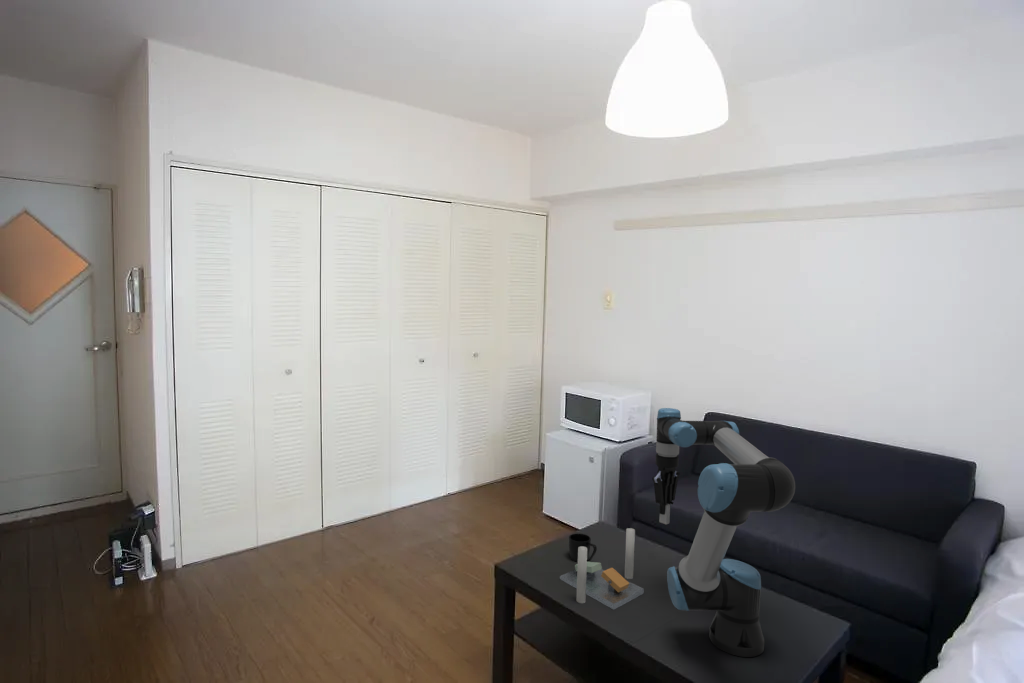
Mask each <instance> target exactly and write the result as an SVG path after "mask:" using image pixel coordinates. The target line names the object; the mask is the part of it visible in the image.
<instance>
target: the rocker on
mask: <svg viewBox="0 0 1024 683" xmlns="http://www.w3.org/2000/svg"><path fill="white" fill-rule="evenodd" d="M577 567H578V563H576V564H574V568H575V569H574V570H576V571H577ZM600 569H603V566H602V563H601V562H596V561H590V562H587V572H590V573H593V572H596V571H598V570H600Z"/></svg>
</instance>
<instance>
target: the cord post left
mask: <svg viewBox="0 0 1024 683" xmlns="http://www.w3.org/2000/svg"><path fill="white" fill-rule="evenodd" d="M587 560H588V559H587V547H584V546H580V547H578V562H577V564H578V567H577V589H576V597H575V598H576V602H577V603H579V604H585V603H586V600H587V599H586V597H587V594H586V573H587Z"/></svg>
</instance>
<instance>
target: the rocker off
mask: <svg viewBox="0 0 1024 683" xmlns="http://www.w3.org/2000/svg"><path fill="white" fill-rule="evenodd" d="M604 570H605V571H603V572H602V575H601V577H603V578H604V579H605V580H606V581H607V582H608V583H609V584H610V585H611V586H612V587H613V588H614V589H615V590H616V591H617V592H618V593H619V592H621V591H623V590H625V589H627V588H628V586H629V584H630V583H629V582H630V581H629V582H628V580H627V579H626V578H625V577H623V576H622V575H621V574H620V572H618V571H617V570H616V569H614V568H613V567H609V568H607V569H604Z"/></svg>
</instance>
